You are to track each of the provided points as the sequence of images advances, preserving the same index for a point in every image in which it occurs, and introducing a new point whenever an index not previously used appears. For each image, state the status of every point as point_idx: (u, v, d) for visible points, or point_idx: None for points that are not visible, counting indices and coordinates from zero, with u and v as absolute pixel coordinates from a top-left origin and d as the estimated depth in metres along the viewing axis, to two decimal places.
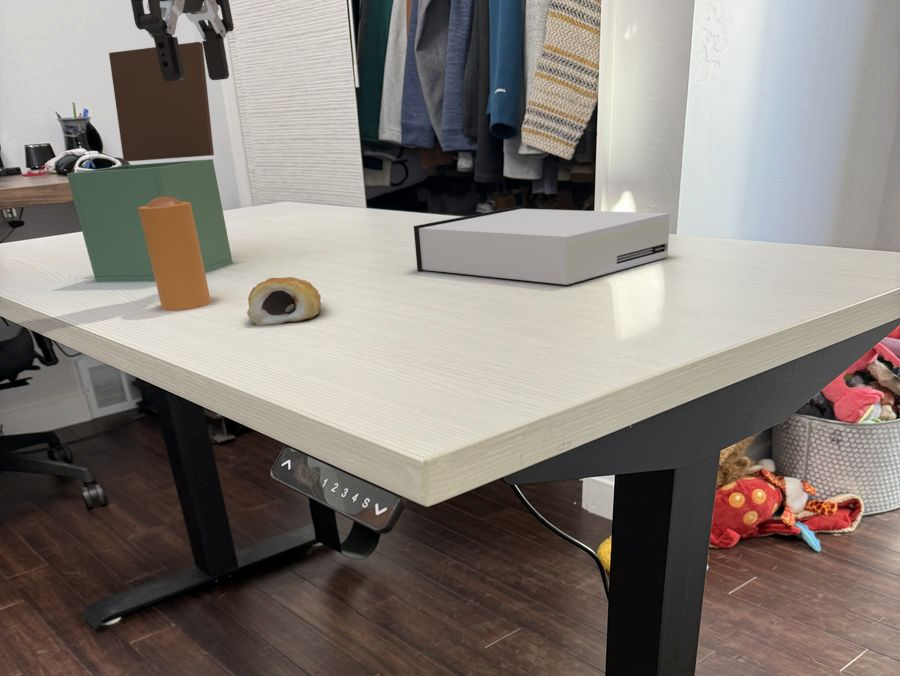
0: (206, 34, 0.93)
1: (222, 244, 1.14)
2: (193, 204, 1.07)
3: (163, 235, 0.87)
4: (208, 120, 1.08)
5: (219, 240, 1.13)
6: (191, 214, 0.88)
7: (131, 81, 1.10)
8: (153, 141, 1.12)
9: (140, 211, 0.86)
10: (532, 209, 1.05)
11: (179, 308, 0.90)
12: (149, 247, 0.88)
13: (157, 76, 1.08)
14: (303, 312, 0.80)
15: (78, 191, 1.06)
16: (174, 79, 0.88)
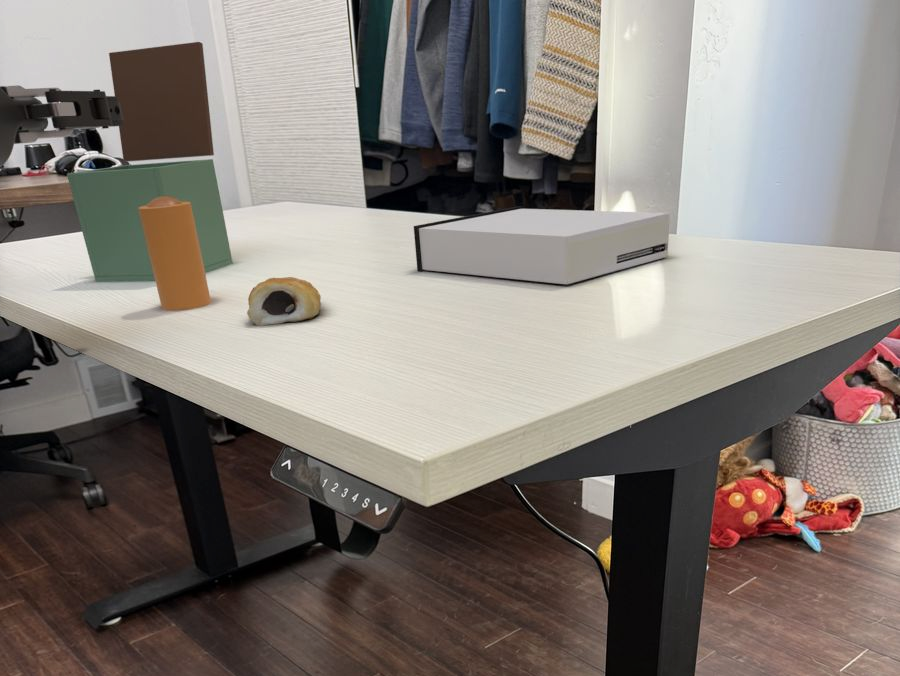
0: None
1: (222, 244, 1.14)
2: (193, 204, 1.07)
3: (163, 235, 0.87)
4: (208, 120, 1.08)
5: (219, 240, 1.13)
6: (191, 214, 0.88)
7: (131, 81, 1.10)
8: (153, 141, 1.12)
9: (140, 211, 0.86)
10: (532, 209, 1.05)
11: (179, 308, 0.90)
12: (149, 247, 0.88)
13: (157, 76, 1.08)
14: (303, 312, 0.80)
15: (78, 191, 1.06)
16: None
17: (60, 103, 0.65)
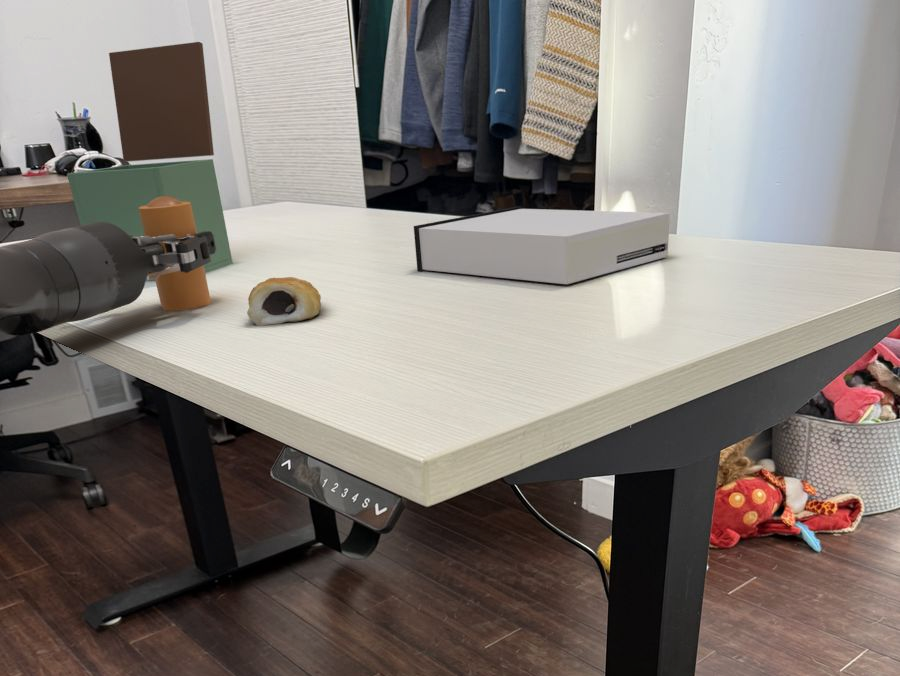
0: None
1: (222, 244, 1.14)
2: (193, 204, 1.07)
3: None
4: (208, 120, 1.08)
5: (219, 240, 1.13)
6: (191, 214, 0.88)
7: (131, 81, 1.10)
8: (153, 141, 1.12)
9: (140, 211, 0.86)
10: (532, 209, 1.05)
11: (179, 308, 0.90)
12: None
13: (157, 76, 1.08)
14: (303, 312, 0.80)
15: (78, 191, 1.06)
16: None
17: (188, 253, 0.82)
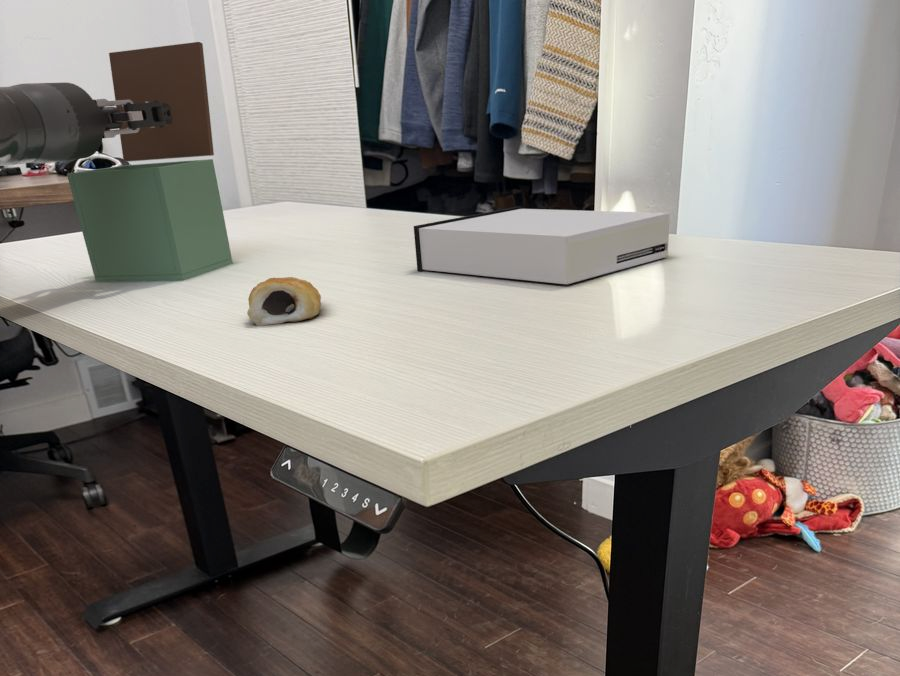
0: None
1: (222, 244, 1.14)
2: (193, 204, 1.07)
3: None
4: (208, 120, 1.08)
5: (219, 240, 1.13)
6: None
7: (131, 81, 1.10)
8: (153, 141, 1.12)
9: None
10: (532, 209, 1.05)
11: None
12: None
13: (157, 76, 1.08)
14: (303, 312, 0.80)
15: (78, 191, 1.06)
16: None
17: (133, 112, 0.96)
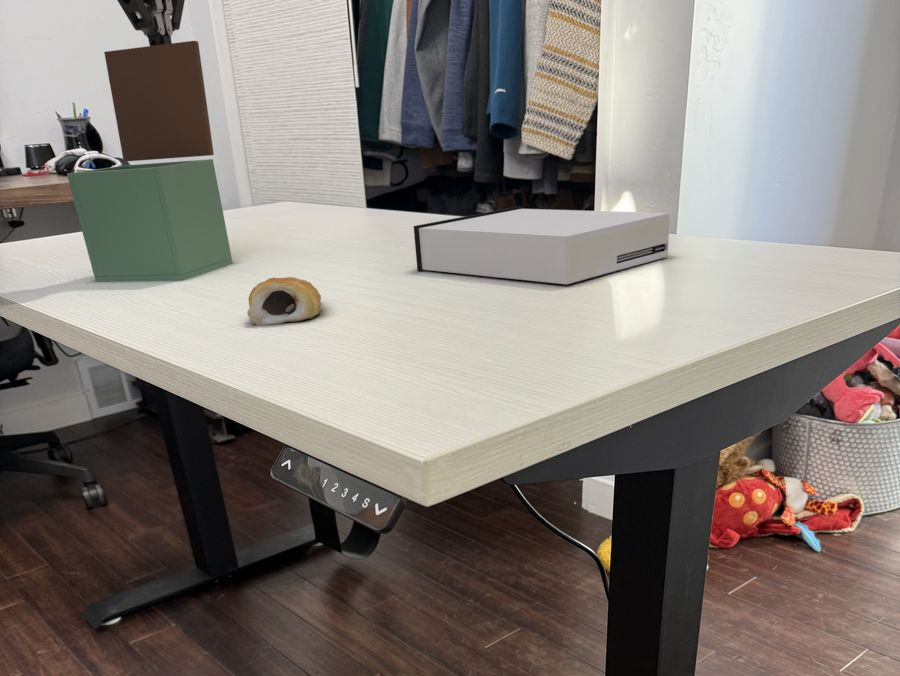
0: None
1: (222, 244, 1.14)
2: (193, 204, 1.07)
3: None
4: (206, 120, 1.08)
5: (219, 240, 1.13)
6: None
7: (128, 80, 1.09)
8: (152, 141, 1.11)
9: None
10: (532, 209, 1.05)
11: None
12: None
13: (154, 76, 1.08)
14: (303, 312, 0.80)
15: (78, 191, 1.06)
16: None
17: None
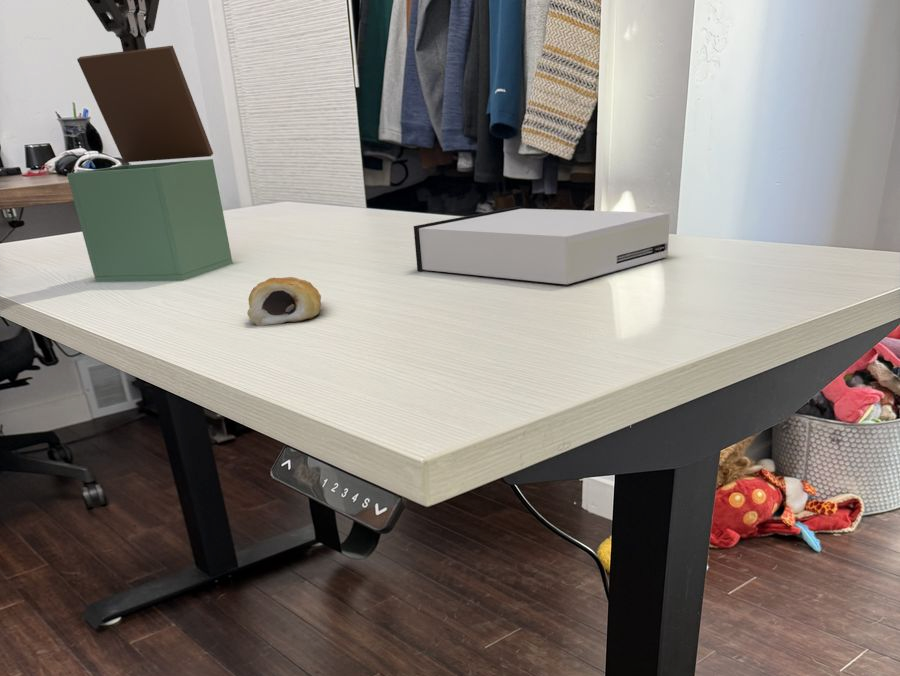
0: None
1: (222, 244, 1.14)
2: (193, 204, 1.07)
3: None
4: (199, 124, 1.07)
5: (219, 240, 1.13)
6: None
7: (109, 87, 1.06)
8: (149, 144, 1.11)
9: None
10: (532, 209, 1.05)
11: None
12: None
13: (135, 82, 1.05)
14: (303, 312, 0.80)
15: (78, 191, 1.06)
16: None
17: None
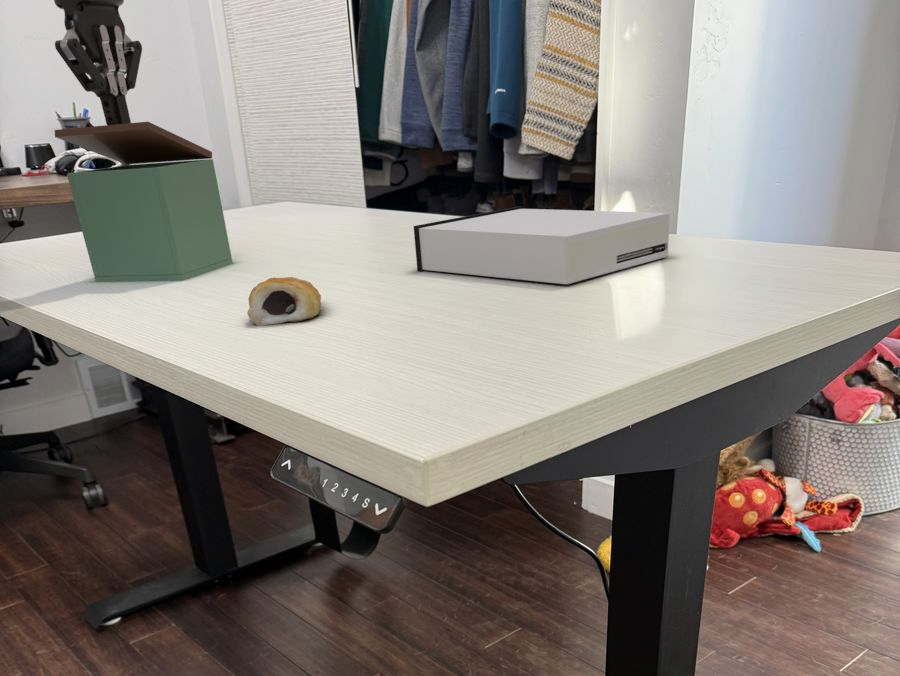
0: None
1: (222, 244, 1.14)
2: (193, 204, 1.07)
3: None
4: (193, 147, 1.06)
5: (219, 240, 1.13)
6: None
7: (95, 143, 1.05)
8: (147, 158, 1.11)
9: None
10: (532, 209, 1.05)
11: None
12: None
13: (120, 140, 1.04)
14: (303, 312, 0.80)
15: (78, 191, 1.06)
16: None
17: None
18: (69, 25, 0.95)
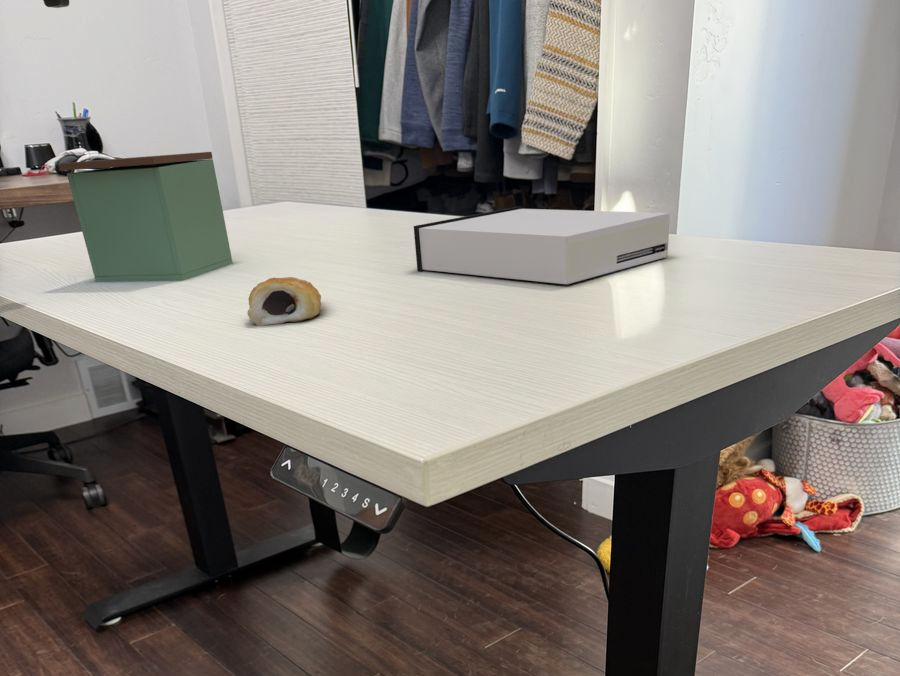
0: None
1: (222, 244, 1.14)
2: (193, 204, 1.07)
3: None
4: (195, 158, 1.07)
5: (219, 240, 1.13)
6: None
7: None
8: None
9: None
10: (532, 209, 1.05)
11: None
12: None
13: None
14: (303, 312, 0.80)
15: (78, 191, 1.06)
16: (54, 4, 0.93)
17: None
18: None
